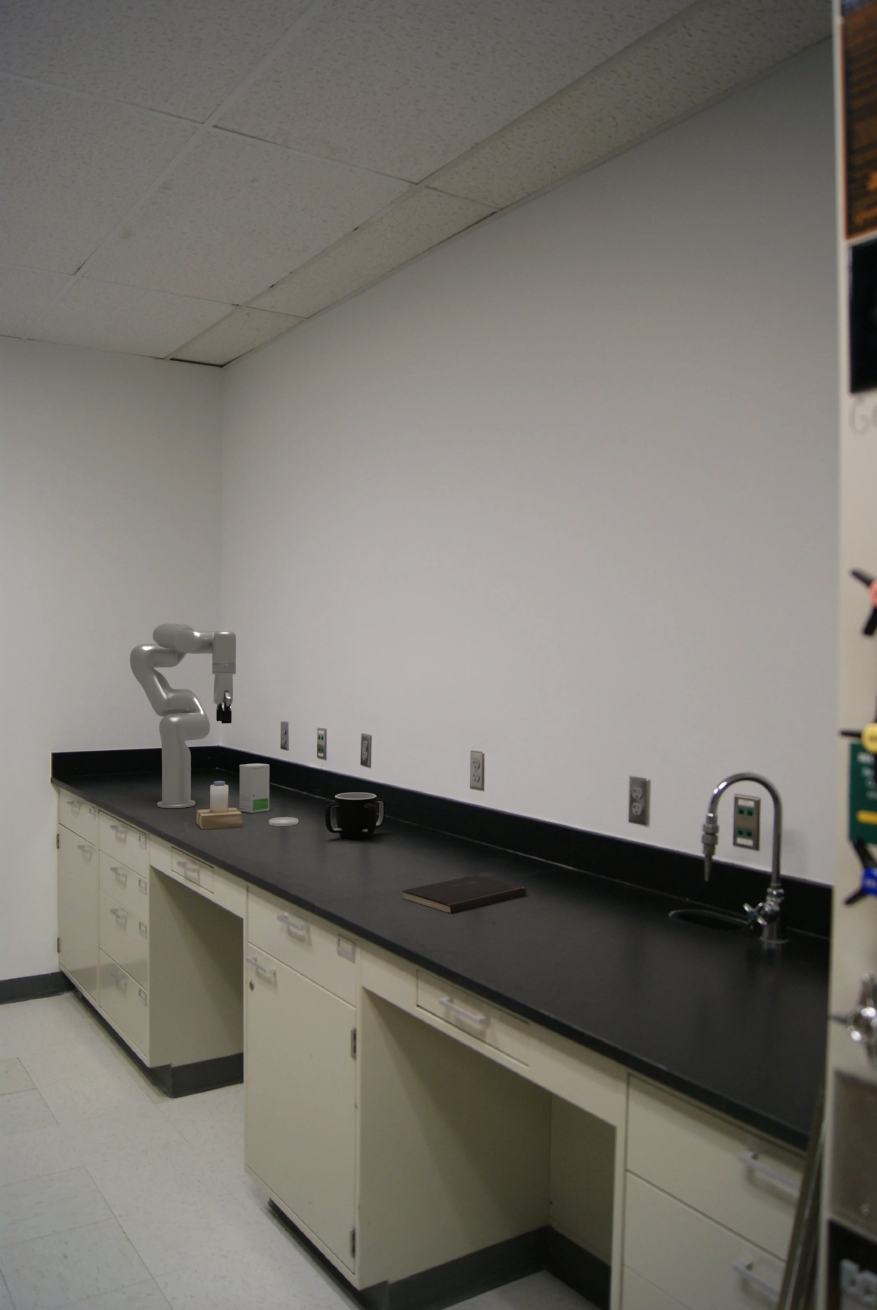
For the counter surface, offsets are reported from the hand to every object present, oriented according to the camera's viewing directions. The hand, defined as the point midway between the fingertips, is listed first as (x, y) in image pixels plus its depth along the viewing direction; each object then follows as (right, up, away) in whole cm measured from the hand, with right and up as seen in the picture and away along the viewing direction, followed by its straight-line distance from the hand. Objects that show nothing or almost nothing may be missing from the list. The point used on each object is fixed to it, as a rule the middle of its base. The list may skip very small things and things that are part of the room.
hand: (223, 722), depth 315 cm
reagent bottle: (+2, -27, -16) cm, 31 cm away
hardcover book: (+76, -33, -99) cm, 129 cm away
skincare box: (+8, -31, +9) cm, 33 cm away
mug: (+46, -31, -33) cm, 64 cm away
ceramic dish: (+22, -31, -14) cm, 40 cm away
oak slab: (+2, -31, -16) cm, 34 cm away
